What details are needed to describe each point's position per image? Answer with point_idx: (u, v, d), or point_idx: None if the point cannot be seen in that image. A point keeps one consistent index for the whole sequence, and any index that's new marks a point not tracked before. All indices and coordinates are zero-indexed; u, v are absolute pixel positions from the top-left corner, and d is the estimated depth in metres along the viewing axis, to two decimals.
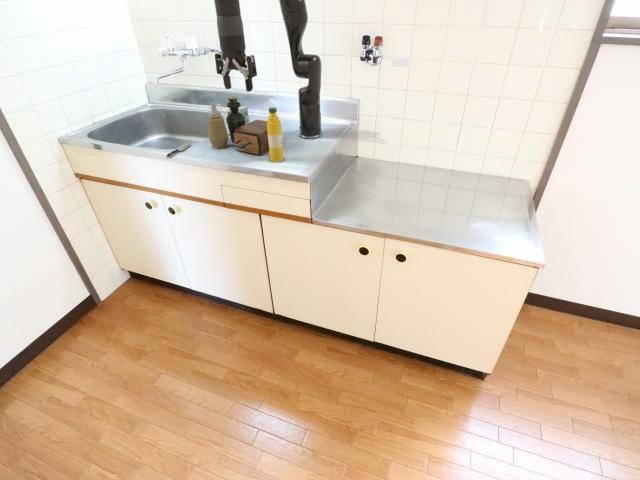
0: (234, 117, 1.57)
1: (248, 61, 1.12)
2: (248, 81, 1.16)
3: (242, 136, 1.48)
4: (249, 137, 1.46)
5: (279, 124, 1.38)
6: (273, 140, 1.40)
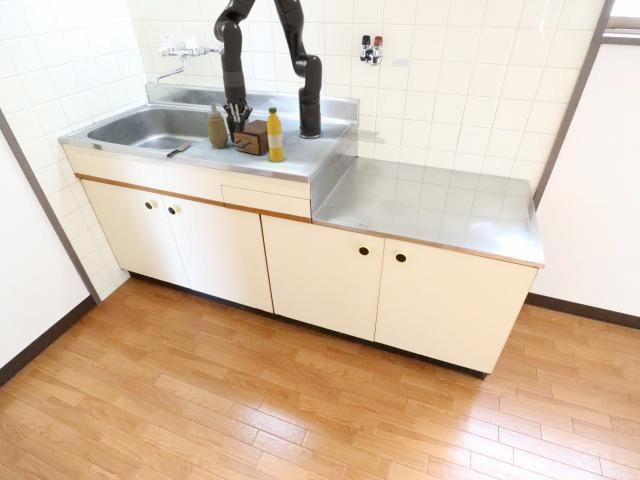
0: None
1: (246, 112, 1.37)
2: (240, 123, 1.42)
3: (242, 136, 1.48)
4: (249, 137, 1.46)
5: (279, 124, 1.38)
6: (273, 140, 1.40)
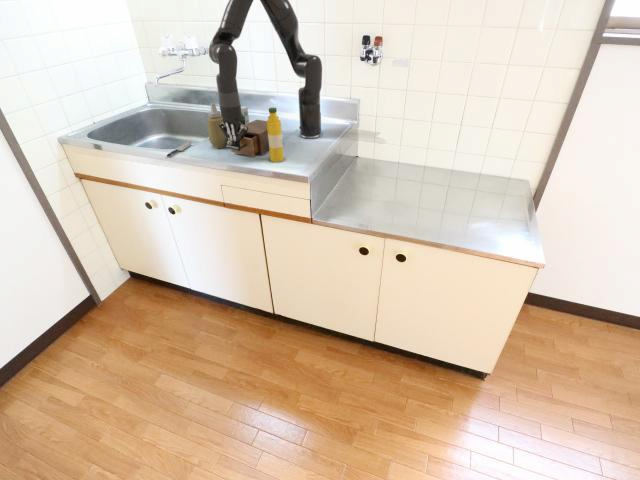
0: None
1: (242, 131, 1.38)
2: (236, 142, 1.43)
3: None
4: (245, 139, 1.44)
5: (279, 124, 1.38)
6: (273, 140, 1.40)
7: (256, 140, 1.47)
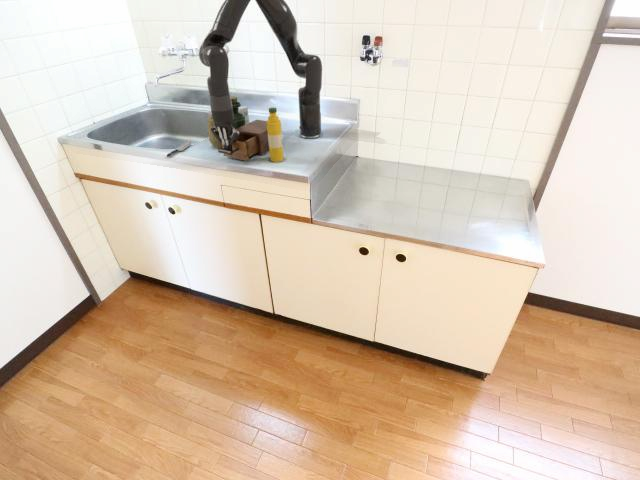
0: (234, 117, 1.57)
1: (234, 135, 1.35)
2: (228, 146, 1.40)
3: None
4: (237, 143, 1.41)
5: (279, 124, 1.38)
6: (273, 140, 1.40)
7: (249, 144, 1.44)
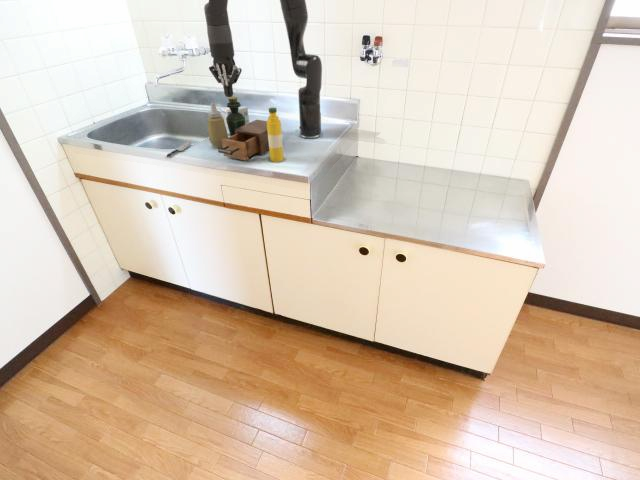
0: (234, 117, 1.57)
1: (234, 73, 1.22)
2: (228, 87, 1.27)
3: (230, 142, 1.43)
4: (237, 143, 1.41)
5: (279, 124, 1.38)
6: (273, 140, 1.40)
7: (249, 144, 1.44)
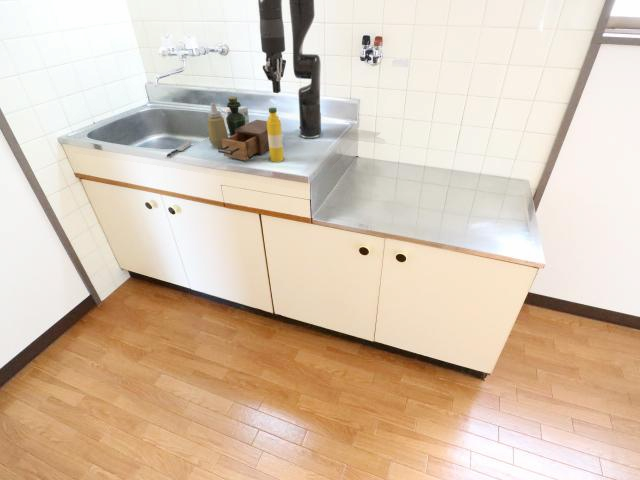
0: (234, 117, 1.57)
1: None
2: None
3: (230, 142, 1.43)
4: (237, 143, 1.41)
5: (279, 124, 1.38)
6: (273, 140, 1.40)
7: (249, 144, 1.44)
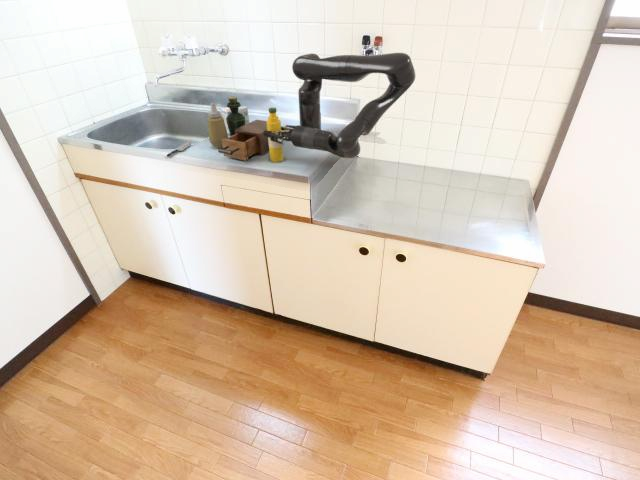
0: (234, 117, 1.57)
1: (279, 136, 1.33)
2: (270, 133, 1.37)
3: (230, 142, 1.43)
4: (237, 143, 1.41)
5: (279, 124, 1.38)
6: None
7: (249, 144, 1.44)
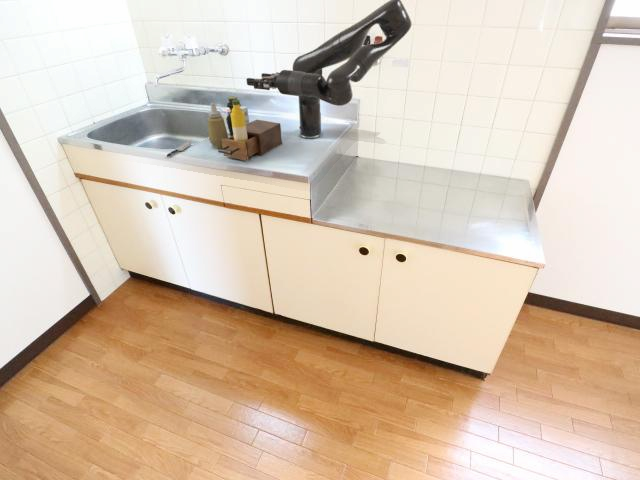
0: None
1: (265, 81, 1.20)
2: None
3: (230, 142, 1.43)
4: (237, 143, 1.41)
5: (243, 116, 1.40)
6: (237, 132, 1.42)
7: (249, 144, 1.44)
